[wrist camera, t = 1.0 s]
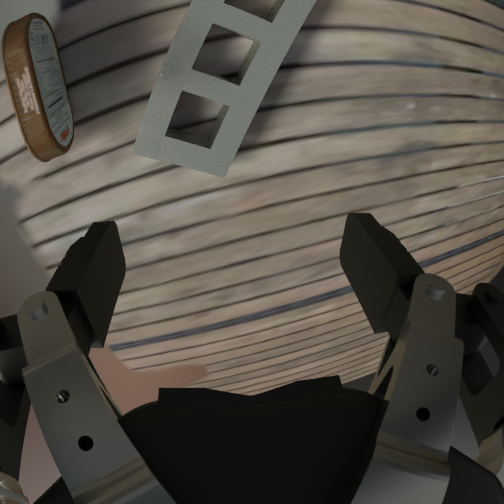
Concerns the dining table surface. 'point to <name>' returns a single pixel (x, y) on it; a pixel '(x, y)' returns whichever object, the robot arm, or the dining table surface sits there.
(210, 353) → the dining table surface
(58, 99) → the tin
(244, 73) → the rail
